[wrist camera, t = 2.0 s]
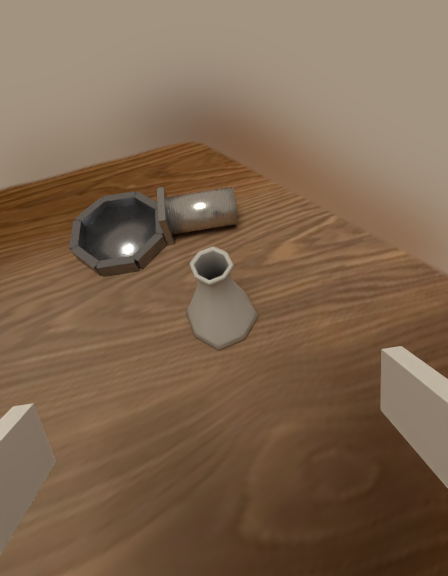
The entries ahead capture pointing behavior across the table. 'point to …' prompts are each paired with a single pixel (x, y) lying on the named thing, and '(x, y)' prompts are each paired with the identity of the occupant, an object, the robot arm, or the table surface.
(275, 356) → the table surface
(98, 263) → the octagonal metal scoop
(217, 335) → the flask
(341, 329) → the table surface
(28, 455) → the robot arm
